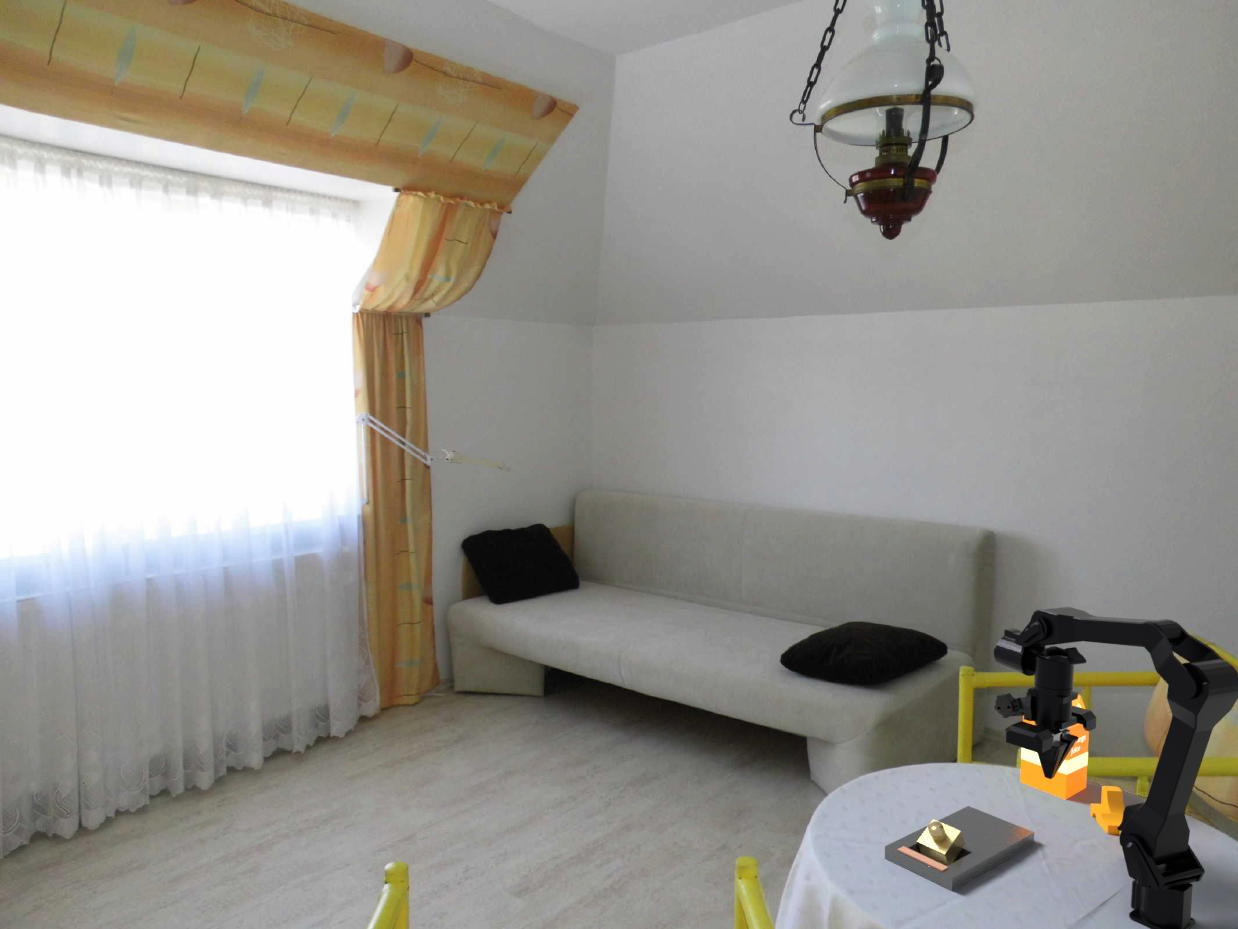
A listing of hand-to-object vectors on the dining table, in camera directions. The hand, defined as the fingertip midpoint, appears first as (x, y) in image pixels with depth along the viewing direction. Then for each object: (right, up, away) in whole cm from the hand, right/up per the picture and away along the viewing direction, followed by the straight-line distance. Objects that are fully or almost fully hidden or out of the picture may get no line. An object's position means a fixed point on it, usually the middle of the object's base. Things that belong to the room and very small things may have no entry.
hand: (1048, 778), depth 148 cm
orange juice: (+11, -11, +22) cm, 27 cm away
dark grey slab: (-14, -12, 0) cm, 19 cm away
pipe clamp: (+14, -12, +5) cm, 19 cm away
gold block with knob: (-18, -11, -2) cm, 21 cm away
